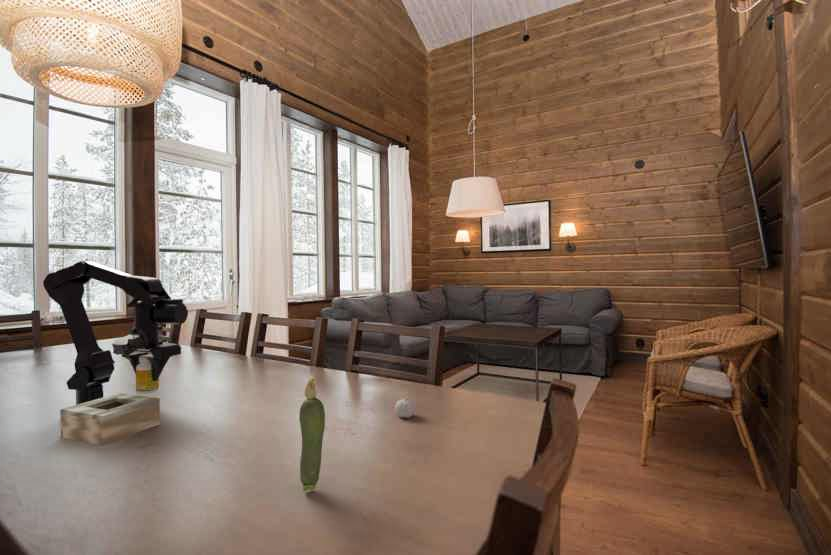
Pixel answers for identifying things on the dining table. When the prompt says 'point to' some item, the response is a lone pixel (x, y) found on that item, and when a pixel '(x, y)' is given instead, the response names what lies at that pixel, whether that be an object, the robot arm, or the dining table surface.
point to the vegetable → (311, 437)
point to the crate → (109, 418)
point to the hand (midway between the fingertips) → (147, 379)
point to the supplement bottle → (145, 376)
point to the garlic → (405, 408)
